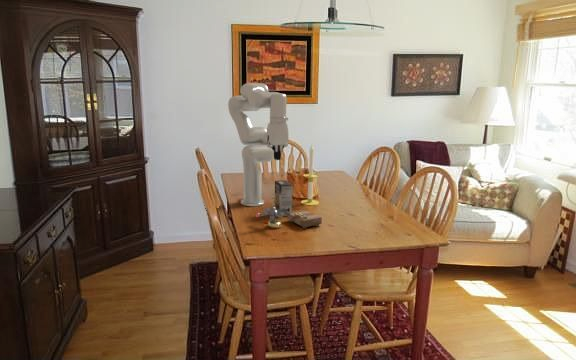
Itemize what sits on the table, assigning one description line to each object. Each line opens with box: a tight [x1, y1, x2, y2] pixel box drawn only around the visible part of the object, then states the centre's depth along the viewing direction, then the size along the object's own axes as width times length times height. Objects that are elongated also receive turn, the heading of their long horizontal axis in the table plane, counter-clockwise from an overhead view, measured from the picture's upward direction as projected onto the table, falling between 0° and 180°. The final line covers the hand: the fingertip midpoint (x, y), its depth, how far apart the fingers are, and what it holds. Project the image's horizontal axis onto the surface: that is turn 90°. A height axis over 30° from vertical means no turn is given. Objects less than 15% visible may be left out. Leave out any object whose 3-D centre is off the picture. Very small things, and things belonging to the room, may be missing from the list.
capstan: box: [255, 205, 287, 229], centre depth 210 cm, size 16×15×9 cm
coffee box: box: [274, 179, 294, 217], centre depth 230 cm, size 9×6×16 cm
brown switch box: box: [286, 209, 323, 230], centre depth 216 cm, size 14×10×6 cm
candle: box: [300, 144, 320, 206], centre depth 247 cm, size 10×10×32 cm
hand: (277, 159), depth 217 cm, fingers closed
